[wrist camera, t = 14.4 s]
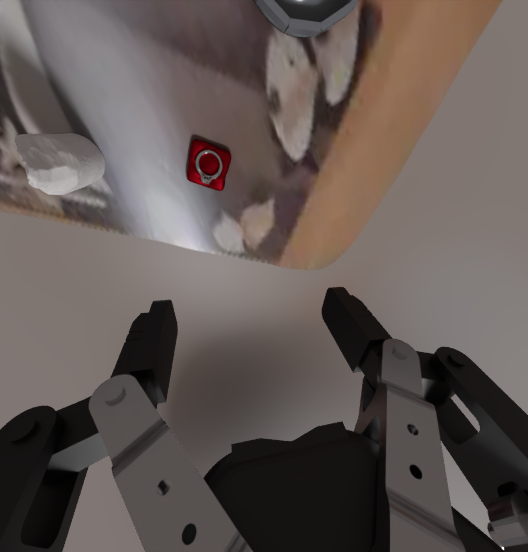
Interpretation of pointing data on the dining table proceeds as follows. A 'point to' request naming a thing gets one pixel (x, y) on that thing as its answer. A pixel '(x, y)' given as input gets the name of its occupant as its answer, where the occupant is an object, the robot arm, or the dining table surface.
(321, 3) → the round dish
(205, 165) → the engagement ring
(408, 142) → the dining table surface
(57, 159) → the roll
